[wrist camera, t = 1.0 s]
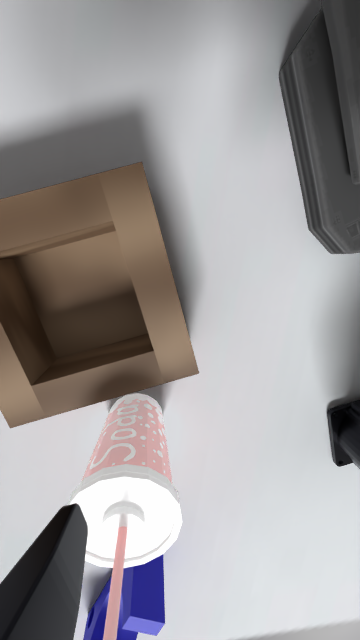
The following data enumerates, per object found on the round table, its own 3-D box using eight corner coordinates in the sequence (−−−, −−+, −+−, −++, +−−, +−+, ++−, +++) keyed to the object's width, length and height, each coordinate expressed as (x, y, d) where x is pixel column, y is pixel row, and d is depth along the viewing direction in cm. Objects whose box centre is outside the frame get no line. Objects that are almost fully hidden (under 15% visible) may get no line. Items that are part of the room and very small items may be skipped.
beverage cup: (173, 385, 21) (207, 615, 8) (169, 446, 23) (190, 731, 9) (99, 384, 20) (-10, 634, 7) (99, 447, 22) (9, 756, 8)
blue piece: (126, 620, 28) (119, 715, 22) (88, 612, 27) (70, 709, 21) (175, 543, 26) (181, 627, 20) (135, 532, 25) (129, 616, 19)
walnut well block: (188, 345, 20) (199, 373, 15) (45, 386, 20) (10, 428, 15) (145, 188, 17) (142, 161, 12) (-26, 234, 17) (-99, 225, 12)
